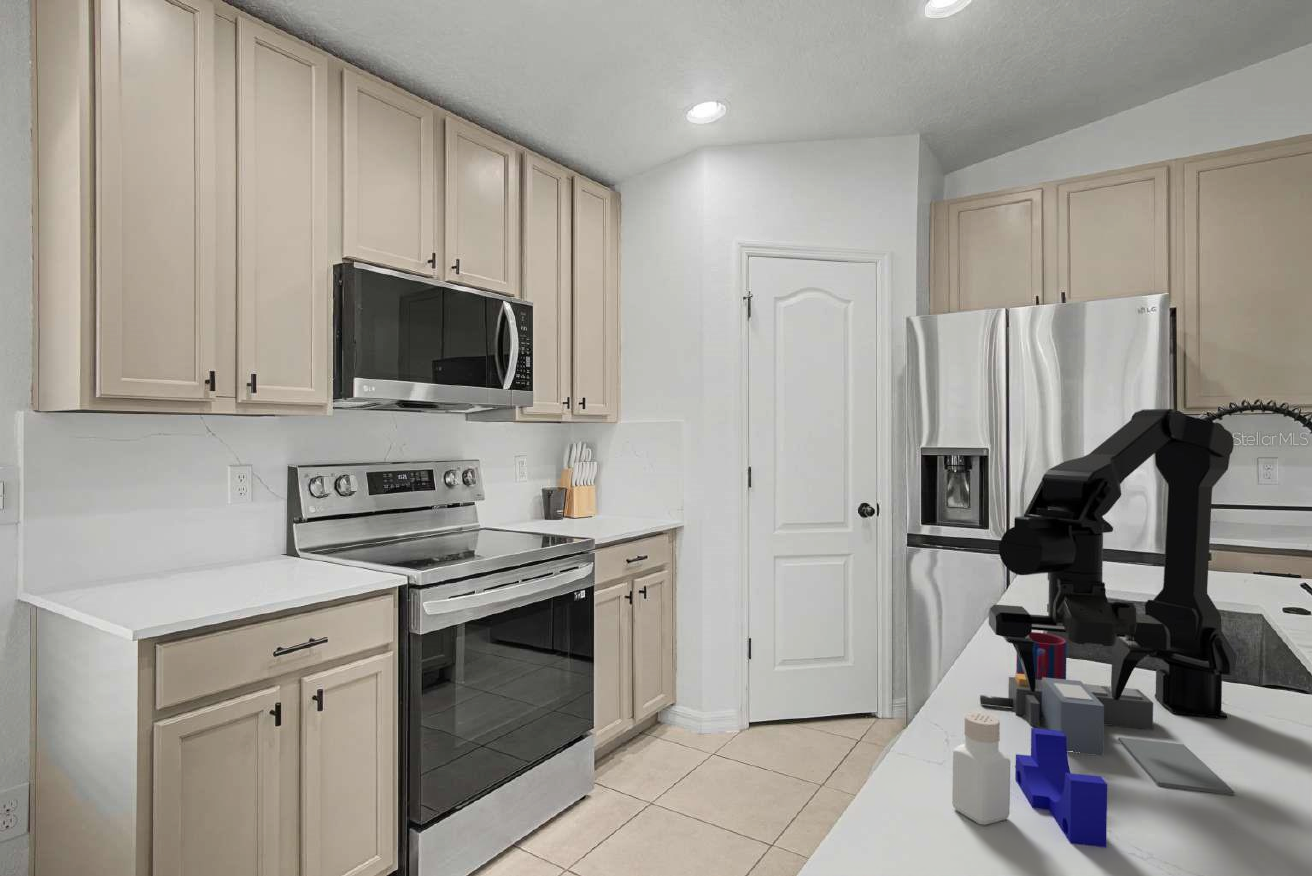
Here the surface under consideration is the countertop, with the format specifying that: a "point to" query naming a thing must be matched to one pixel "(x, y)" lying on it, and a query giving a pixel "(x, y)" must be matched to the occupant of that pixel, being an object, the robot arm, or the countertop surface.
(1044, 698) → the block
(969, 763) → the pepper shaker
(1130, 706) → the power strip
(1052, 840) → the countertop surface
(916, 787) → the countertop surface
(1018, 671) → the mug
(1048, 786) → the cable clip
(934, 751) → the countertop surface
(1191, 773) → the mat
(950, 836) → the countertop surface
